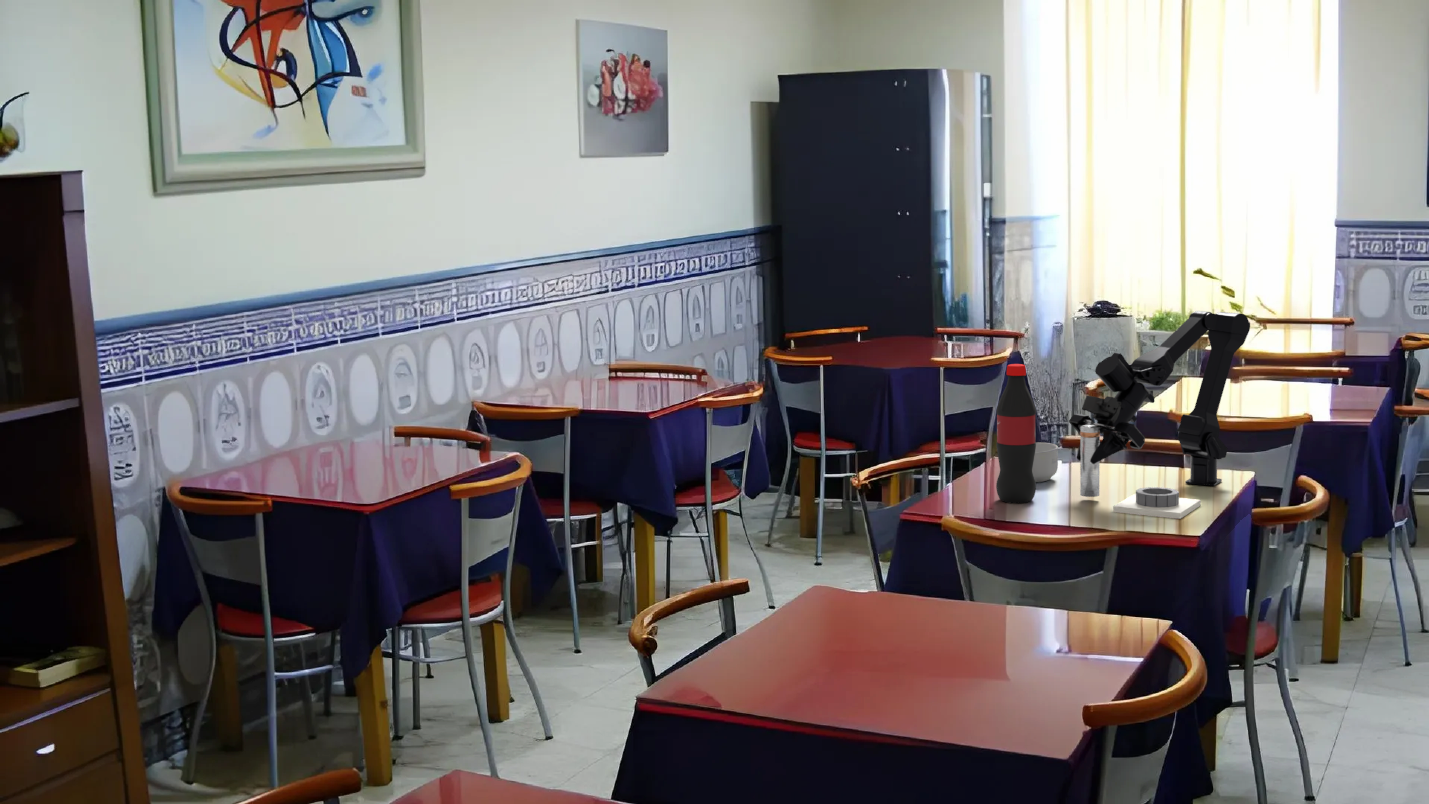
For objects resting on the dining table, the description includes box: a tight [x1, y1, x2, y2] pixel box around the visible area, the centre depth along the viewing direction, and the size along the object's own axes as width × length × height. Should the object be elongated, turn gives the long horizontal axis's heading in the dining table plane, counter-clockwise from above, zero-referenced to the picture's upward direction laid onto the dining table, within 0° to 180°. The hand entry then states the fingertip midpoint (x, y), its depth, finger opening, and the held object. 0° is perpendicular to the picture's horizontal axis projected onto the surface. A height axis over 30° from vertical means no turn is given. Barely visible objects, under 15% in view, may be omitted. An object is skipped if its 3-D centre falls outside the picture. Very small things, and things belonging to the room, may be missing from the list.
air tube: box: [1079, 425, 1101, 498], centre depth 314 cm, size 4×4×15 cm
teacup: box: [1032, 442, 1059, 483], centre depth 339 cm, size 14×11×8 cm
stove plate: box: [1112, 486, 1202, 520], centre depth 305 cm, size 14×14×4 cm
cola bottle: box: [995, 363, 1037, 504], centre depth 315 cm, size 8×8×30 cm
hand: (1084, 461), depth 313 cm, fingers closed on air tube, 4 cm apart
